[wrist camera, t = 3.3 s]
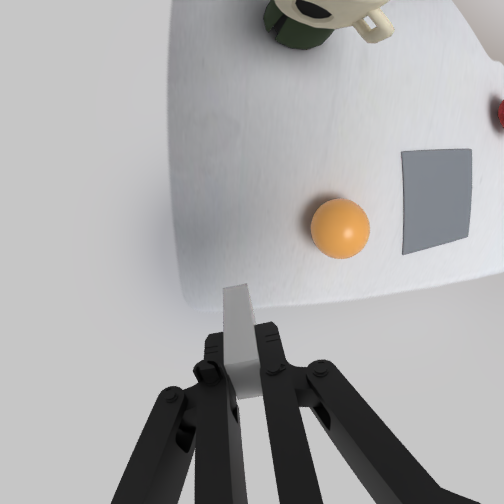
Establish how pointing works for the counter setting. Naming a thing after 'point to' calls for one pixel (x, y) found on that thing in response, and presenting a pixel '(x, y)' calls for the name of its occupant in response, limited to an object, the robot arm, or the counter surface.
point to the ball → (340, 228)
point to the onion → (501, 113)
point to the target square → (436, 197)
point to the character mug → (324, 20)
